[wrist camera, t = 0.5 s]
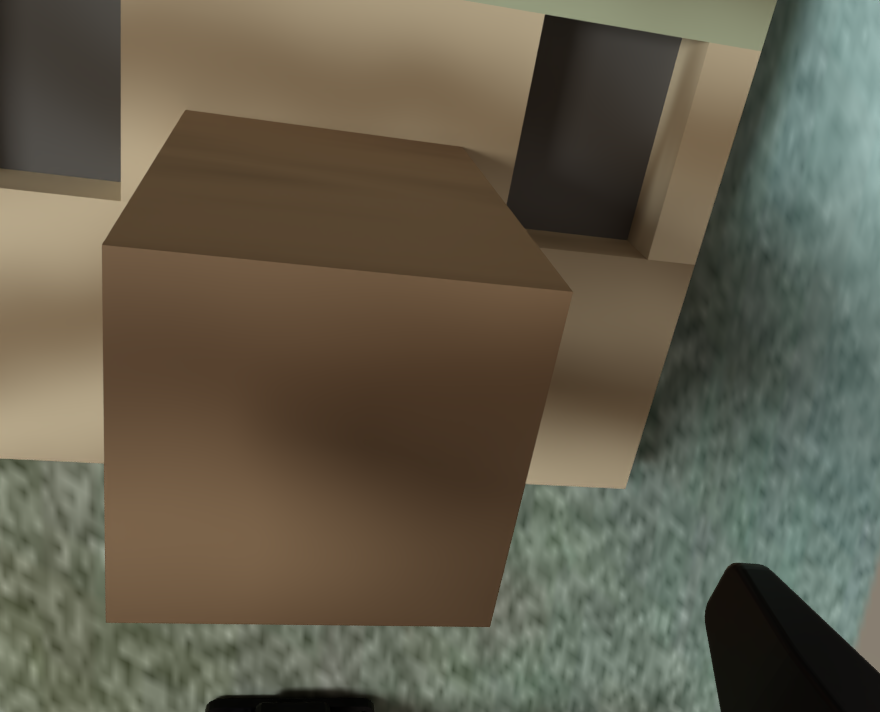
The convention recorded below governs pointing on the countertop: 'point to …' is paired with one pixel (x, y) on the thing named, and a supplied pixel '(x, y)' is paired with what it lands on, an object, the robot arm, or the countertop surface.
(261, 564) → the walnut block
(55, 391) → the trap board
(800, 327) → the countertop surface
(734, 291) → the countertop surface
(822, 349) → the countertop surface
